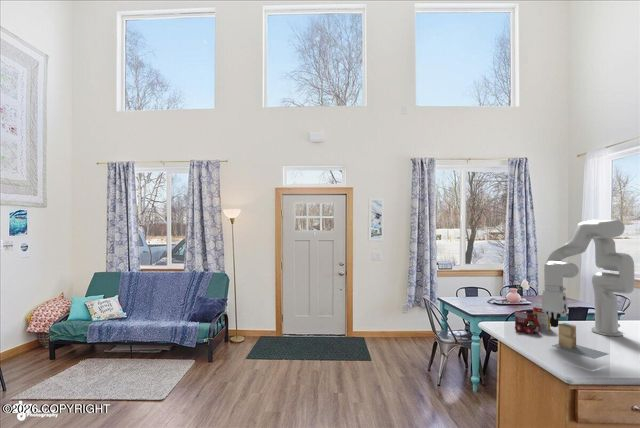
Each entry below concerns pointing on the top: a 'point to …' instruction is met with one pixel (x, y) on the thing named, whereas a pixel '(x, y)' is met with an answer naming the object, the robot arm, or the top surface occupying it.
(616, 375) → the top surface
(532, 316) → the toy fire truck
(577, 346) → the mat
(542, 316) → the canned food
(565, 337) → the oak block
